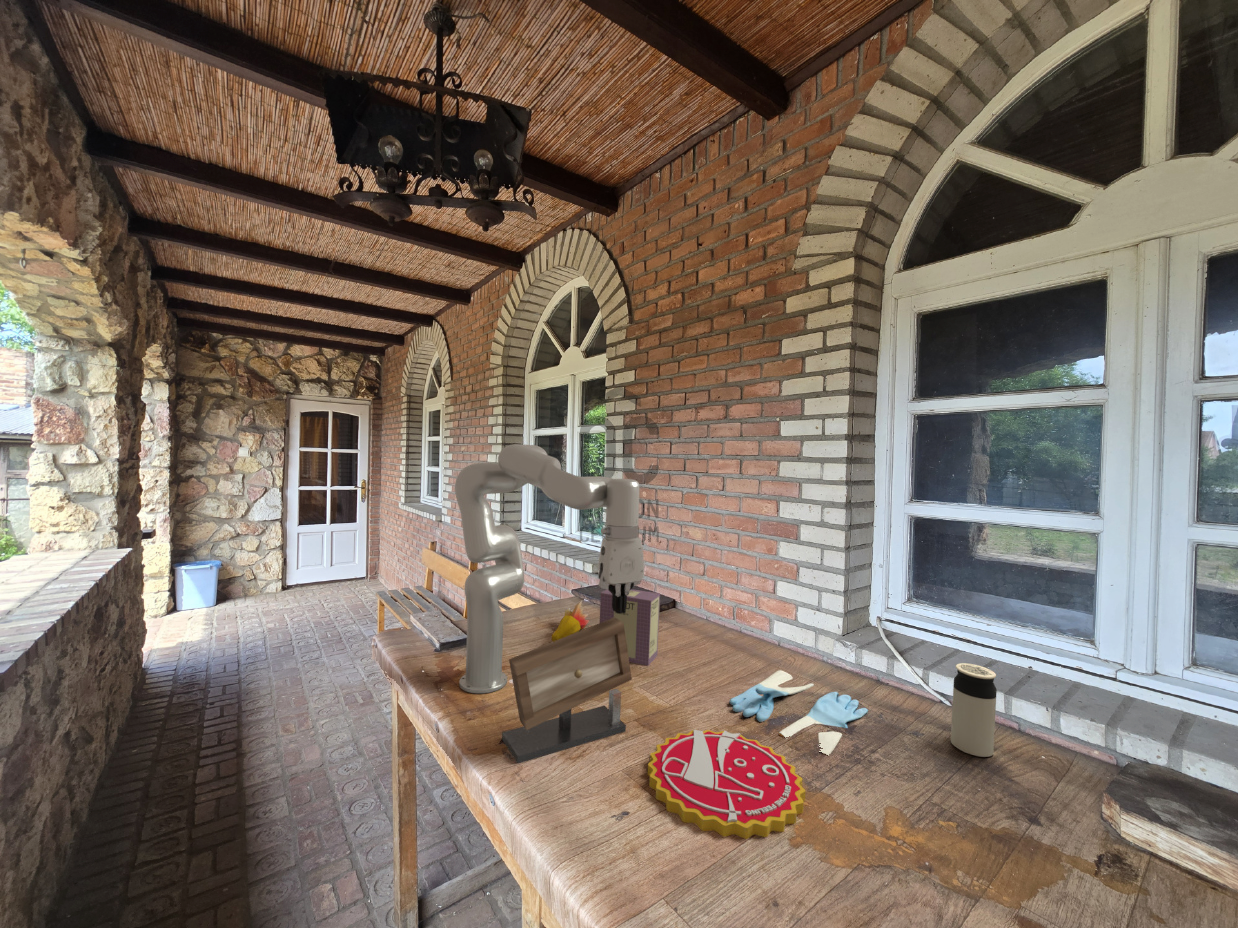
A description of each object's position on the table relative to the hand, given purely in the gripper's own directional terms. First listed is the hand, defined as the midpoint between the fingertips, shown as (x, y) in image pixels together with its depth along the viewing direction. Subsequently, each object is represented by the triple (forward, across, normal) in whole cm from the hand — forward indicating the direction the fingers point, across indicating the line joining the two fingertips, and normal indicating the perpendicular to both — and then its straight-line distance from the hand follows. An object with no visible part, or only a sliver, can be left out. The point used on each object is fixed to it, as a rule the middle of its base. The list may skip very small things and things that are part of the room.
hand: (619, 611), depth 116 cm
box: (+28, +26, +35) cm, 52 cm away
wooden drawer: (+18, -10, 0) cm, 21 cm away
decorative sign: (+28, +10, -26) cm, 40 cm away
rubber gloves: (+29, +48, -13) cm, 57 cm away
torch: (+28, +16, +59) cm, 67 cm away
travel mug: (+28, +69, -44) cm, 86 cm away
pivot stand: (+27, -11, +3) cm, 30 cm away
